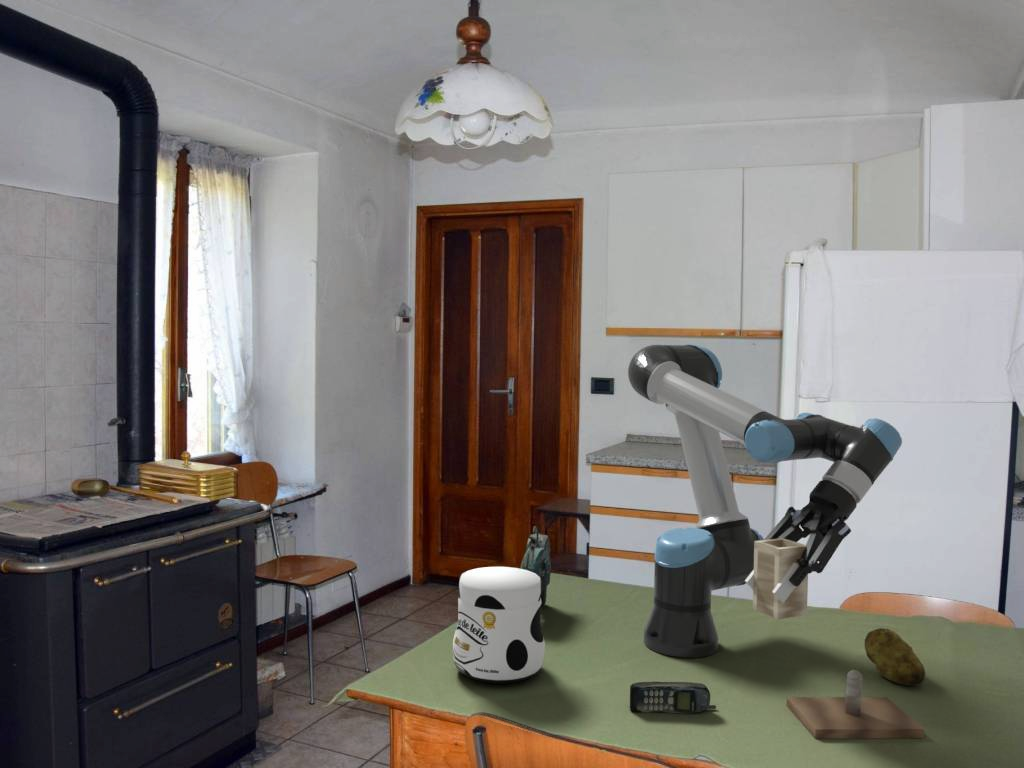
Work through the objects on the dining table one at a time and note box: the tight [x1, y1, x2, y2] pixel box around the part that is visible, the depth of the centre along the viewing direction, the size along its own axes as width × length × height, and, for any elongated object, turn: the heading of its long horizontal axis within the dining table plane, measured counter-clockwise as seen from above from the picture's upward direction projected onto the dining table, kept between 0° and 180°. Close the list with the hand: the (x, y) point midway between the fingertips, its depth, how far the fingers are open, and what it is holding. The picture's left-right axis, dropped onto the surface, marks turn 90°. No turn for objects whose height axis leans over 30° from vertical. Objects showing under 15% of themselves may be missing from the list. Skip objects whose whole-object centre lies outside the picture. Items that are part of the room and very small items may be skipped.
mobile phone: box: [629, 681, 717, 715], centre depth 145 cm, size 5×3×15 cm
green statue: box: [519, 525, 552, 609], centre depth 192 cm, size 20×6×20 cm, turn 169°
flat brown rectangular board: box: [785, 669, 925, 740], centre depth 143 cm, size 18×12×9 cm, turn 94°
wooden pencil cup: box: [752, 538, 809, 620], centre depth 148 cm, size 6×6×12 cm
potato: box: [864, 628, 926, 687], centre depth 162 cm, size 8×13×8 cm, turn 177°
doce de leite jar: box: [451, 566, 546, 684], centre depth 159 cm, size 17×17×18 cm
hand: (763, 591), depth 147 cm, fingers closed on wooden pencil cup, 6 cm apart
